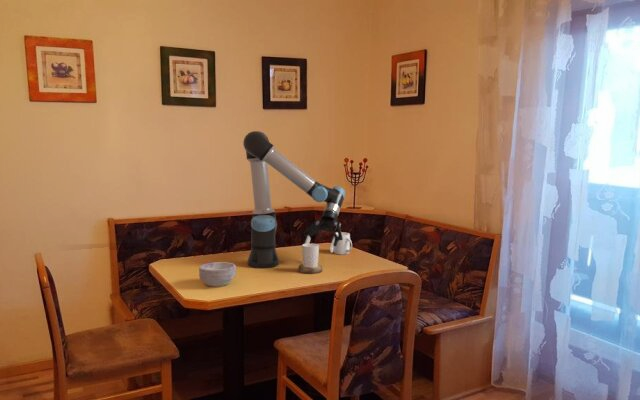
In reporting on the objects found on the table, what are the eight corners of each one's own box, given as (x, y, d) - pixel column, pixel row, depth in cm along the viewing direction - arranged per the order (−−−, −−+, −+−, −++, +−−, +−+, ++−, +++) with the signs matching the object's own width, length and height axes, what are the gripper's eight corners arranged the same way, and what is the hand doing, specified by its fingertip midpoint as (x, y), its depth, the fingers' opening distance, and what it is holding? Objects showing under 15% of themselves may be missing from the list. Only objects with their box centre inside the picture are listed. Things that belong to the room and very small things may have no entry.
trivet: (301, 274, 235) (301, 269, 234) (296, 268, 245) (296, 263, 245) (324, 273, 237) (324, 268, 237) (319, 267, 248) (319, 262, 248)
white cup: (299, 264, 243) (299, 244, 242) (314, 263, 246) (315, 242, 245) (305, 268, 236) (305, 247, 235) (321, 267, 239) (321, 246, 238)
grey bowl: (206, 278, 227) (205, 260, 226) (239, 279, 226) (239, 261, 225) (194, 288, 212) (193, 269, 211) (230, 289, 211) (230, 270, 210)
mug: (345, 257, 270) (346, 236, 268) (330, 252, 279) (330, 233, 277) (357, 254, 275) (357, 234, 274) (341, 250, 284) (342, 231, 283)
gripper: (355, 220, 255) (344, 256, 244) (310, 216, 266) (297, 251, 255) (352, 211, 250) (339, 247, 239) (306, 208, 261) (292, 242, 249)
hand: (317, 249), depth 247 cm, fingers open, 13 cm apart
